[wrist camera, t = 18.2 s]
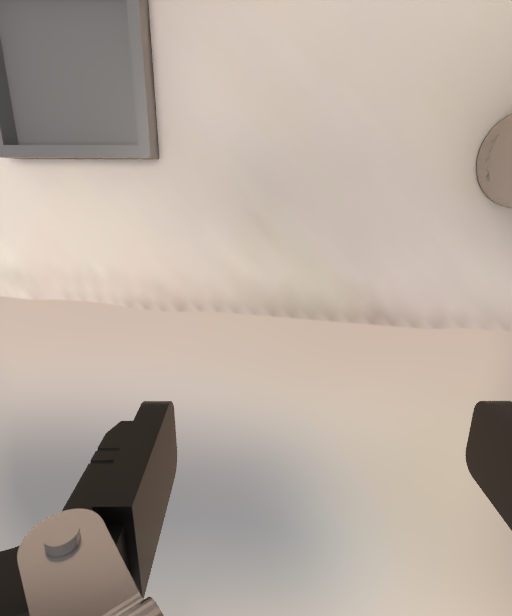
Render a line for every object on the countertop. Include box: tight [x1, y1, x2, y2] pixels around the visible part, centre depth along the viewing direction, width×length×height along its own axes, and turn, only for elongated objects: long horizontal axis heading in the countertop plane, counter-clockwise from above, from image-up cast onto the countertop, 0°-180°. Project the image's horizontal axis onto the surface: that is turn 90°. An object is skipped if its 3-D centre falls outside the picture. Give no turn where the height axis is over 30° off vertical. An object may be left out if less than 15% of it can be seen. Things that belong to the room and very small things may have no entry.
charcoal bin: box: [0, 0, 159, 159], centre depth 36 cm, size 14×14×4 cm
